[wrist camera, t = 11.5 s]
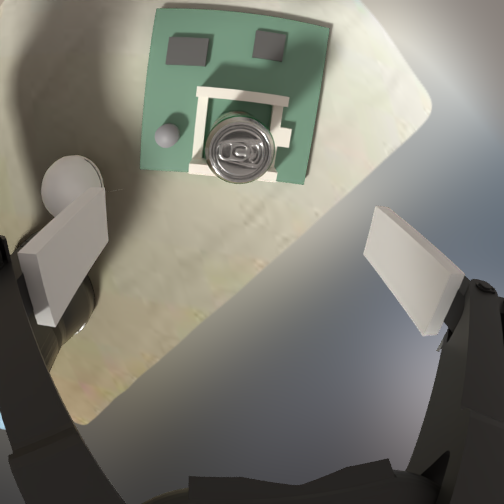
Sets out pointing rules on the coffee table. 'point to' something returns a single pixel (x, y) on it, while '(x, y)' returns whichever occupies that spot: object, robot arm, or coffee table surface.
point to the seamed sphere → (68, 182)
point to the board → (230, 86)
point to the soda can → (239, 147)
